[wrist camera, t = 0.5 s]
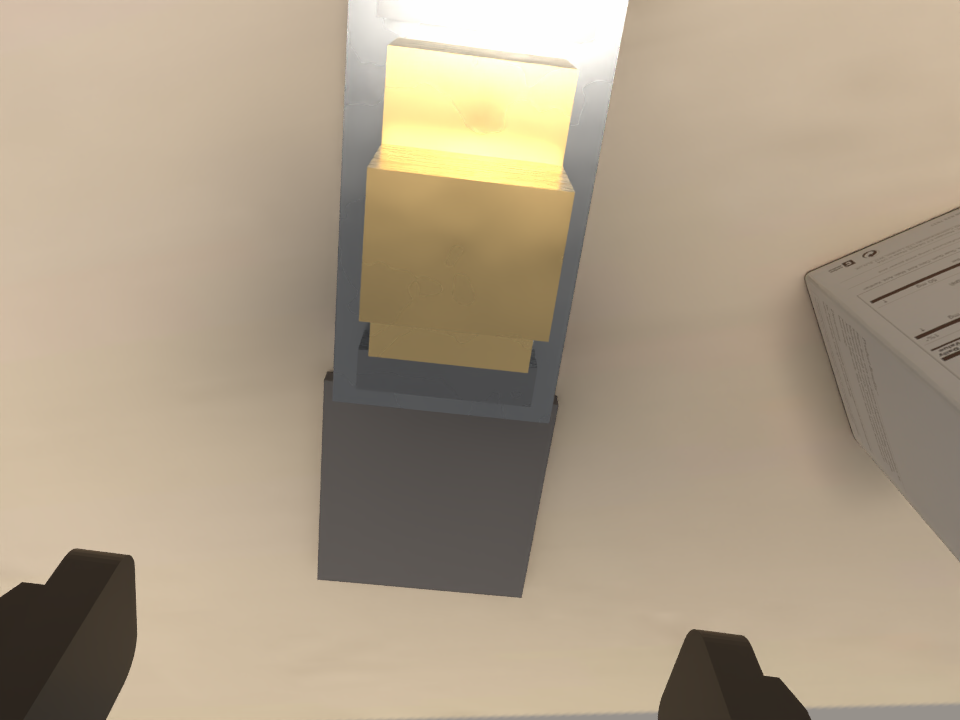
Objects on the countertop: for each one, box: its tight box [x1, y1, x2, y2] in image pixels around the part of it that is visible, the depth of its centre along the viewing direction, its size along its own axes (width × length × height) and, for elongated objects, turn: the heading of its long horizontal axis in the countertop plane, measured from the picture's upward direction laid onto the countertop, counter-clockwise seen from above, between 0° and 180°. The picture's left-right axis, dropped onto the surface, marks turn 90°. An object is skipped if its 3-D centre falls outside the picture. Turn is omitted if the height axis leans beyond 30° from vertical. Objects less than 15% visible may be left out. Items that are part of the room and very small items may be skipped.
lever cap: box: [359, 37, 578, 373], centre depth 22 cm, size 5×9×6 cm, turn 173°
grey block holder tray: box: [332, 0, 628, 423], centre depth 24 cm, size 8×17×10 cm, turn 173°
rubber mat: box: [317, 372, 558, 598], centre depth 35 cm, size 10×11×1 cm
